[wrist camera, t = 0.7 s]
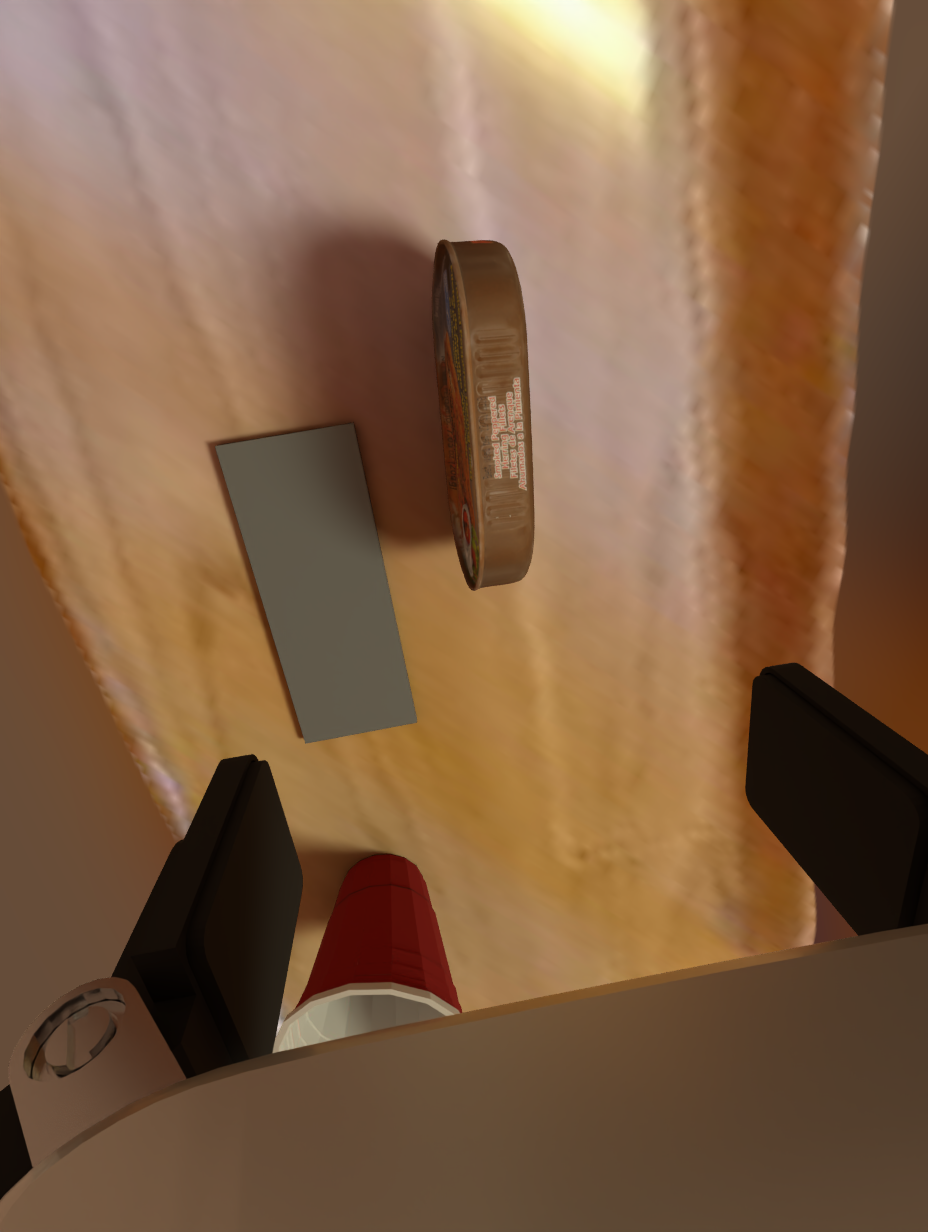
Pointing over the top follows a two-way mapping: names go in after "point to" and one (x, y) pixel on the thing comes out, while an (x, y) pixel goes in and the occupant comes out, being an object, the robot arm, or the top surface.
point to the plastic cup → (374, 959)
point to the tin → (484, 409)
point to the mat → (321, 578)
